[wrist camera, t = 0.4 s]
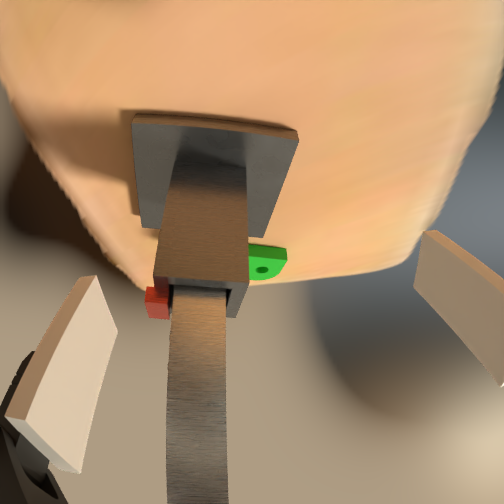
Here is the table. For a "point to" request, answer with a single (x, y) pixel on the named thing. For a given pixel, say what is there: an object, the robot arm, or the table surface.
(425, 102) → the table surface
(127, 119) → the table surface
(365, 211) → the table surface
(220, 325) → the column
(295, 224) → the table surface
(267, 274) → the mechanical part
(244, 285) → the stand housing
